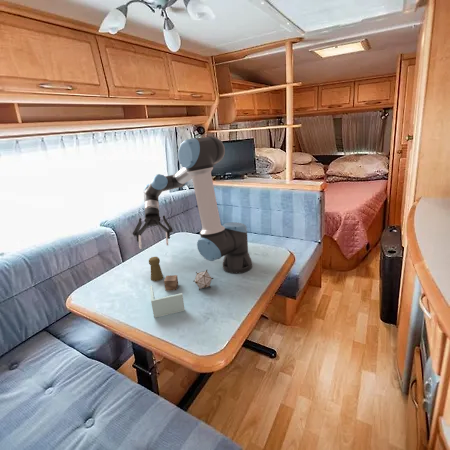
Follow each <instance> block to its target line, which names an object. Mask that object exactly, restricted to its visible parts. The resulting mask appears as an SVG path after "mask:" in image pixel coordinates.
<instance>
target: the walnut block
mask: <svg viewBox="0 0 450 450" xmlns="http://www.w3.org/2000/svg"><path fill="white" fill-rule="evenodd" d="M178 280H179V278H178V275H177V274H173V275H166V276H165V278H164V280H163V283H164V290H165V291H166V292H168V291H177V289H178V287H179V281H178Z"/></svg>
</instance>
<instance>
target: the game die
mask: <svg viewBox="0 0 450 450" xmlns="http://www.w3.org/2000/svg"><path fill="white" fill-rule="evenodd" d="M195 273H196V276H195V278H194V280H193V281H192V282H194V283H195V284H196V285H197V287H198V288H199V289H198V291H200V290H201V289H205V288H210V289H211V286H210V285H211V282H212V280H214V277H211V274H209V273H208V269H206V270H205V271H200V272H198V271H196V272H195Z"/></svg>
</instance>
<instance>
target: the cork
mask: <svg viewBox="0 0 450 450" xmlns="http://www.w3.org/2000/svg"><path fill="white" fill-rule="evenodd" d="M160 262H161V261H160V258H159V257H158V256H151V257H149V259H148V264H149V266H150V281H152V282H158V281H162V280H163V279H164V275H163V272H162V268H161V265H160Z"/></svg>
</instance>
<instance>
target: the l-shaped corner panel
mask: <svg viewBox="0 0 450 450" xmlns="http://www.w3.org/2000/svg"><path fill="white" fill-rule="evenodd" d="M149 292H150V293H149V294H150V302H151V308H152V314H153V318H154V319H155V318H159V317H163V316H167V315H173V314H176V313H180V312H184V311H185V310H186V308H185V301H184V296H183V293H182V292H181V293H177V294H172V295H168V296H163V297H158V298H155V293H154V288H153V285H149Z"/></svg>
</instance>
